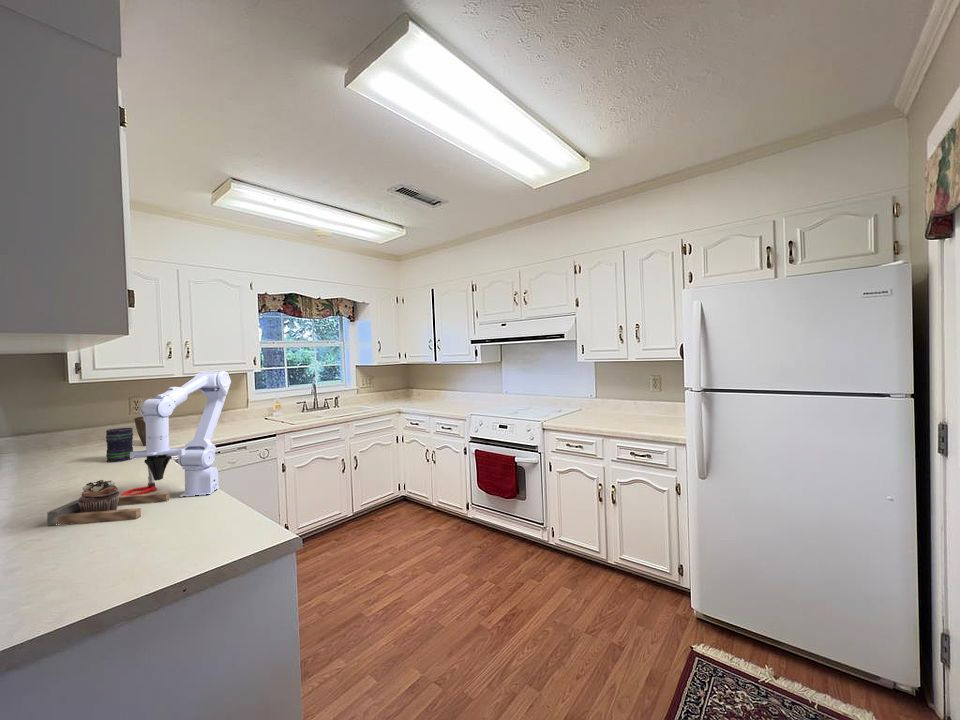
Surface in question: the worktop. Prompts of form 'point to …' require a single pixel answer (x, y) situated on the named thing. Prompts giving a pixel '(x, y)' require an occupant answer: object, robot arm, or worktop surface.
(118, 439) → the storage jar
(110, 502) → the cupcake
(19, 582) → the worktop surface
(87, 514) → the guide track
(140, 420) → the plant pot
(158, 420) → the robot arm
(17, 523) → the worktop surface
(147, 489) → the tow hook
